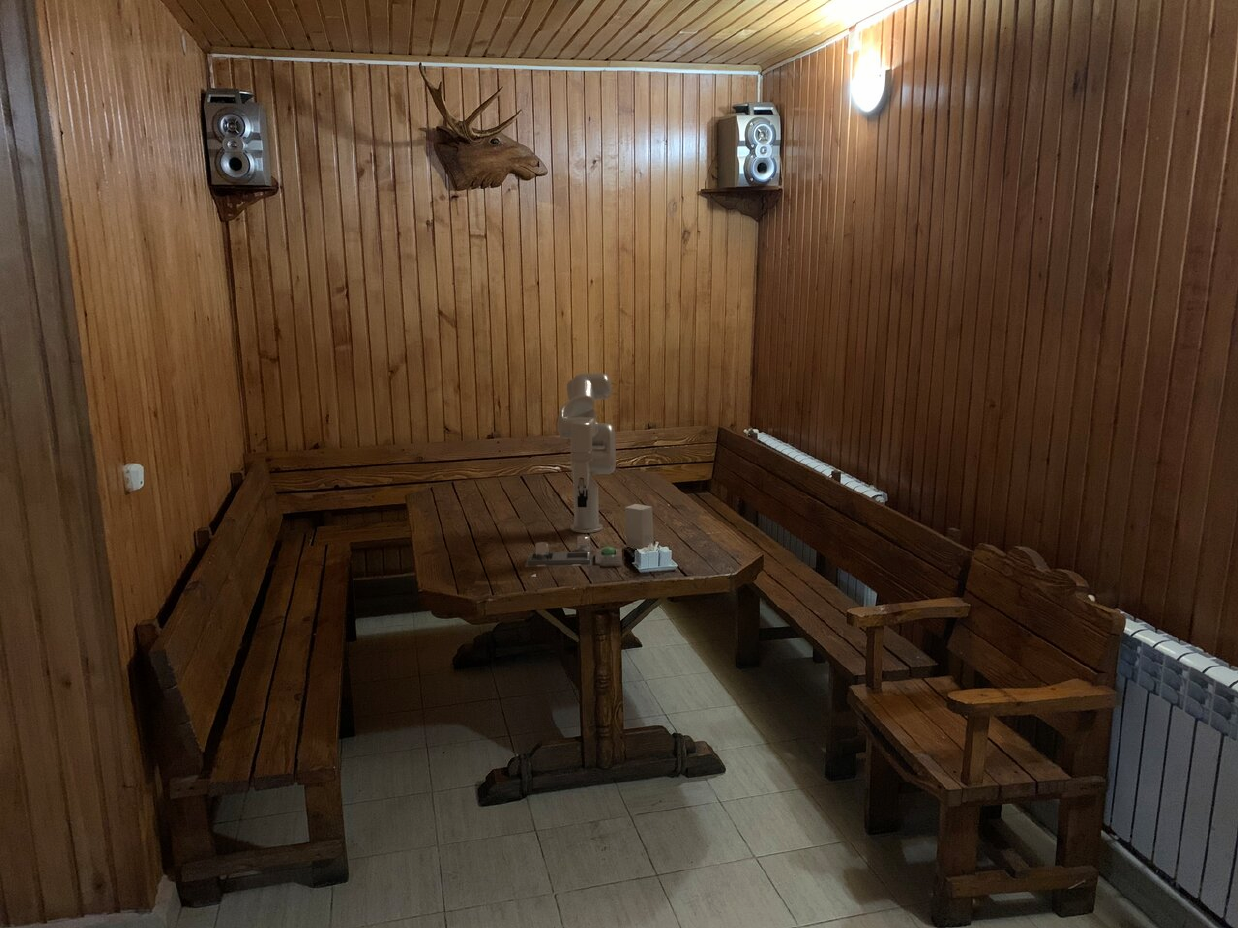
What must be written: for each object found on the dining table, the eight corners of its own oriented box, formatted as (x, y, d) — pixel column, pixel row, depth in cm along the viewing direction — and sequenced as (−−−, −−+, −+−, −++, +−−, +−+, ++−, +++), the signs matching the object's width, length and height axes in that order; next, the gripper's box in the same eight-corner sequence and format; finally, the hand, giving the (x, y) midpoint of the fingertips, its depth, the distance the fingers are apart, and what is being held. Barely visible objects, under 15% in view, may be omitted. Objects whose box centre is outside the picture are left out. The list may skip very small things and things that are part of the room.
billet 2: (578, 551, 325) (577, 535, 323) (590, 550, 325) (590, 535, 323) (577, 555, 320) (577, 538, 319) (590, 554, 320) (589, 538, 319)
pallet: (528, 557, 318) (528, 550, 317) (593, 556, 318) (593, 549, 317) (524, 569, 305) (524, 562, 305) (592, 568, 305) (592, 561, 305)
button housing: (596, 558, 316) (596, 548, 315) (621, 557, 316) (621, 548, 315) (595, 566, 307) (595, 556, 306) (621, 566, 307) (621, 556, 306)
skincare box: (654, 547, 327) (653, 506, 324) (642, 552, 322) (641, 510, 319) (636, 543, 332) (636, 502, 329) (624, 547, 328) (624, 506, 324)
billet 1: (536, 558, 314) (535, 542, 312) (549, 558, 314) (548, 541, 312) (535, 562, 309) (534, 545, 308) (548, 562, 309) (547, 545, 308)
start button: (603, 554, 313) (602, 546, 313) (614, 554, 313) (614, 546, 313) (602, 558, 309) (602, 550, 309) (614, 558, 309) (614, 549, 309)
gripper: (572, 451, 323) (573, 497, 327) (569, 461, 307) (571, 510, 310) (592, 451, 323) (593, 497, 327) (591, 461, 307) (592, 509, 310)
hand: (582, 503), depth 319 cm, fingers open, 9 cm apart
